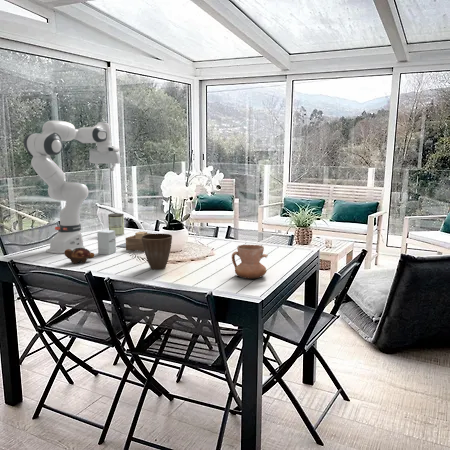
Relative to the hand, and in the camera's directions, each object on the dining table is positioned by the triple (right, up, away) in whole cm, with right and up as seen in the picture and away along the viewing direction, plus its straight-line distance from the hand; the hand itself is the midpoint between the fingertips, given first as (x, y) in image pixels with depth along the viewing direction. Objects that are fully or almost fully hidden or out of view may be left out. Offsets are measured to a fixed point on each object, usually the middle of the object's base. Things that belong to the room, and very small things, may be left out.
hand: (105, 170), depth 286 cm
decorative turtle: (0, -54, -51) cm, 74 cm away
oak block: (+26, -45, -16) cm, 54 cm away
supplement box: (+9, -50, -30) cm, 60 cm away
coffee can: (+2, -41, +24) cm, 48 cm away
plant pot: (+42, -56, -62) cm, 93 cm away
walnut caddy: (+28, -48, -17) cm, 58 cm away
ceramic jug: (+87, -58, -77) cm, 130 cm away
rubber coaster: (+16, -47, -12) cm, 51 cm away
